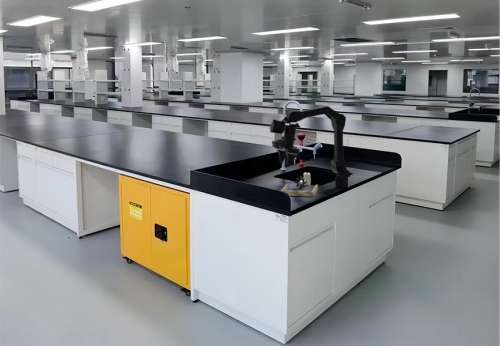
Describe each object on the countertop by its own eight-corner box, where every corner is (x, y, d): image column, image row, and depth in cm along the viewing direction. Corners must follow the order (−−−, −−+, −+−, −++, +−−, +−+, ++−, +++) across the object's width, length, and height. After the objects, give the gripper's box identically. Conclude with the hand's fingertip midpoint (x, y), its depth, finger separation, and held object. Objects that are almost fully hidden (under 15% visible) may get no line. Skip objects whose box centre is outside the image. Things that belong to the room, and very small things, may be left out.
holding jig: (317, 189, 230) (317, 184, 230) (313, 196, 215) (313, 191, 215) (286, 188, 235) (286, 184, 235) (280, 195, 220) (280, 190, 219)
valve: (302, 183, 247) (294, 188, 236) (302, 172, 245) (294, 176, 235) (313, 184, 243) (306, 188, 233) (313, 173, 242) (305, 176, 232)
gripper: (268, 131, 227) (264, 160, 229) (281, 135, 210) (276, 166, 212) (287, 134, 231) (283, 163, 233) (302, 138, 213) (297, 168, 215)
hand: (284, 165), depth 223 cm, fingers open, 9 cm apart
